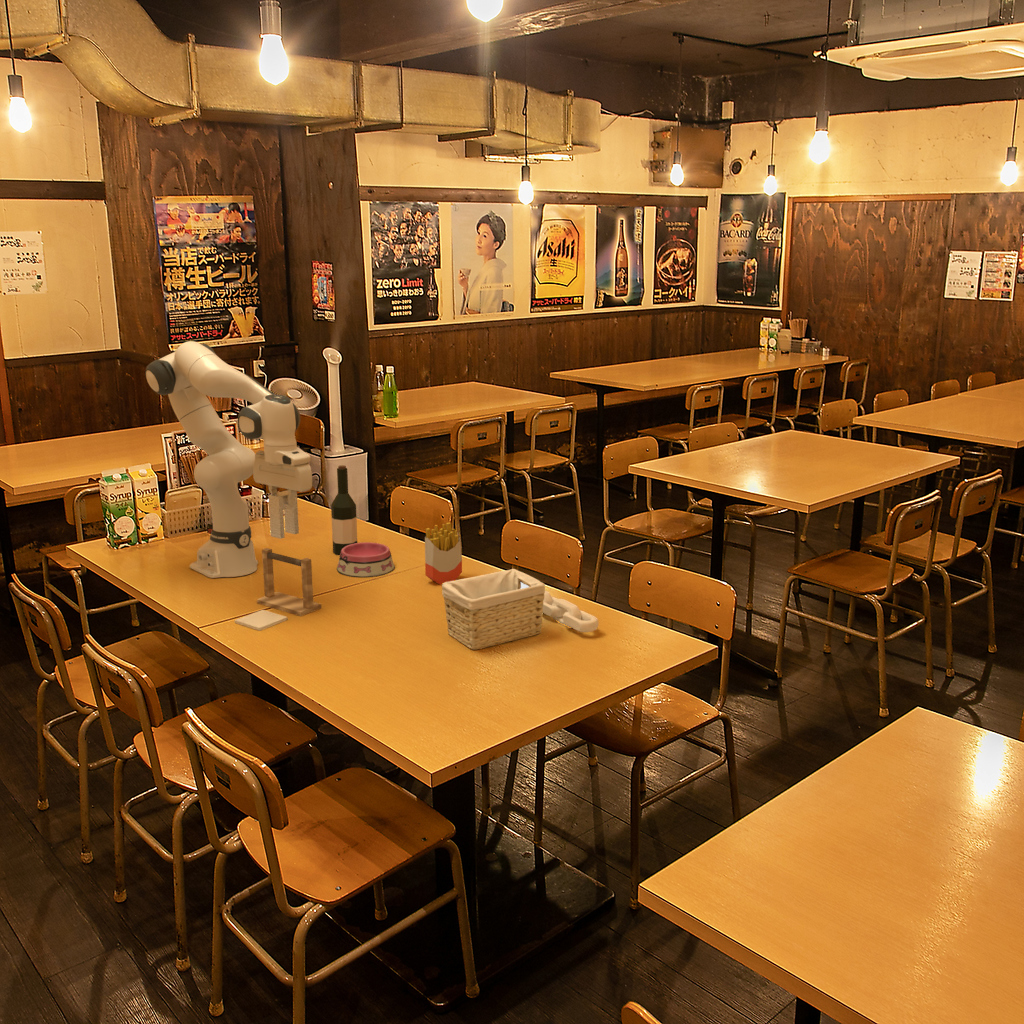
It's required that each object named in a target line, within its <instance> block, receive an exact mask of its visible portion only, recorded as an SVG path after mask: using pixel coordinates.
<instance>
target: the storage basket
mask: <svg viewBox="0 0 1024 1024" xmlns="http://www.w3.org/2000/svg"><path fill="white" fill-rule="evenodd" d="M522 584H523V585H526V586H528V587H525V588H522ZM441 588H442V590H441V593H442V597H443V600H444V609H445V613H446V614H445V617H446V623H447V632H448V635H449V636H450V637H452V638H454V639H455V640H457V641H458V642H460V643H462V645H464V646H466V647H467V648H468V647H469V648H468V649H470V648H471V650H474V651H477V650H482V649H481V648H483V649H486V648H489V647H493V646H496V644H498V645H501V644H505V643H508V642H513V641H516V640H519V639H523V638H524V639H525V638H527V637H532V636H535V635H539V634H541V633H542V623H543V622H542V620H543V614H542V613H543V603H544V602H543V600H544V596H545V595H544V593H545V590H546V586H545V583H544V582H542V581H540V580H539V579H537V578H535V577H534V576H531V575H529V574H527V573H524V572H523V571H520V570H518V569H515V568H511V569H507V570H502V571H501V570H500V571H495V572H492V573H486V574H482V575H477V576H471V577H467V578H461V579H456V580H455V581H450V582H445V583H443V584H441ZM512 640H513V641H512ZM500 643H501V644H500Z"/></svg>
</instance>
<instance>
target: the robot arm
mask: <svg viewBox="0 0 1024 1024" xmlns="http://www.w3.org/2000/svg"><path fill="white" fill-rule="evenodd" d="M144 373H145V378H146V381H147V383H148V385H149V387H150V388H151V390H152V391H153V392H154V393H156V394H158V395H159V396H166V395H167V396H168V399H169V403H170V406H171V407H172V410H173V412H174V415H175V416H176V418H177V420H178V422H179V423H180V425H181V427H182V428H183V430H184V432H185V434H186V435H187V437H188V440H189V441H190V443H191V444H193V445H194V446H195V447H198V448H200V449H202V450H203V451H204V452H205V453H206V454H207V456H205V457H203V458H202V459H201V460H200V461H199V462H197V464H195V466H194V468H193V478H194V481H195V483H196V484H197V485H198V487H200V488H201V489H202V490H204V492H205V494H206V496H207V498H208V501H209V504H210V505H209V506H210V510H211V519H212V528H209V529H208V532H207V534H210V536H209V539H208V540H207V541H206V542H205V543H204V544H203V545H201V546H200V547H199V548H198V549H197V553H196V561H194V562H191V563H190V564H189V569H192V570H193V571H195V572H197V573H200V574H201V575H204V576H205V577H208V578H209V579H214V578H233V577H241V576H246V575H249V574H253V573H254V572H256V571H257V570H258V564H259V561H258V559H256V553H255V548H254V541H253V540H252V539H251V538H252V527H251V526H250V522H249V521H250V518H249V505H248V502H247V501H246V499H244V498H242V496H241V493H240V491H239V488H238V487H239V486H238V485H239V483H240V482H244V481H246V480H247V479H249V478H250V477H251V476H252V475H253V481H254V482H255V484H260V485H261V484H262V485H266V486H267V487H268V491H269V492H270V494H274V493H278V492H279V491H278V488H279V489H281V488H282V489H285V490H288V493H289V495H288V498H286V504H289V505H291V504H294V497H295V495H296V493H297V494H298V492H299V493H303V492H304V493H305V492H308V491H310V490H312V488H313V473H312V472H313V471H312V467H311V465H310V464H309V463H310V462H311V461H312V460H311V458H312V457H311V455H310V454H308V453H307V452H305V451H304V450H303V449H301V448H300V447H299V446H298V445H297V444H298V443H297V440H296V439H297V438H296V435H295V433H296V431H297V430H298V428H299V426H300V424H301V413H300V410H299V409H298V407H297V405H296V404H294V403H293V400H292V399H291V398H290V397H288V396H286V395H283V394H276V393H274V392H272V391H271V390H270V389H269V388H267V387H266V386H265V385H263V384H262V383H260V382H259V381H257V380H256V379H254V378H253V377H251V376H250V375H248V374H247V373H244V372H242V371H239V370H238V369H236V368H235V367H232V366H231V365H230V364H228V363H227V362H225V361H224V360H222V359H221V358H220V357H219V356H218V355H217V354H216V352H215V350H214V349H213V348H212V347H211V346H210V345H208V344H207V343H199V342H197V341H193V340H192V341H190V340H189V341H185V342H183V343H181V344H180V345H179V346H178V347H177V349H176V350H175V351H173V352H172V353H170V354H167V355H165V356H163V357H161V358H159V359H154V360H153V361H152V362H150V363H149V364H147V365H146V368H145V372H144ZM208 397H210V398H211V397H212V398H226V399H227V398H229V399H240V400H245V401H247V402H249V403H251V405H247V406H244V407H242V409H240V411H239V413H238V416H237V426H238V430H239V431H240V433H241V434H242V436H244V438H246V439H248V440H261V439H262V440H263V450H258V451H256V453H255V452H254V451H253V449H251V448H249V447H247V446H245V445H243V444H242V443H241V442H240V441H238V439H236V437H235V436H233V434H232V433H231V432H230V431H229V430H228V429H227V428H226V426H225V424H224V423H223V421H222V420H221V418H220V416H219V415H218V413H217V412H216V409H215V408H214V406H213V404H212V403H211V400H210V399H209V398H208Z"/></svg>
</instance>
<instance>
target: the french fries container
mask: <svg viewBox="0 0 1024 1024" xmlns="http://www.w3.org/2000/svg"><path fill="white" fill-rule="evenodd" d="M441 526H442V527H441V528H438V527H439V526H438V525H437V524H435V525H434V528H432V529H431V528H429V527H427V528H425V536H424V558H425V559H424V562H425V564H424V565H425V567H424V569H425V571H424V572H425V576H426V577H427V578H428V579H429V580H431V581H433V582H434V583H436V584H438V585H440V584H441V585H442V583H445V582H450V581H454V580H458V578H459V577H460V575H461V574H462V573H463V556H462V543H461V537H460V534H459V532H458V529H457V530H456V529H455V528H452V523H451V521H450V522H446V523H442V524H441Z"/></svg>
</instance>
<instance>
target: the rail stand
mask: <svg viewBox="0 0 1024 1024" xmlns="http://www.w3.org/2000/svg"><path fill="white" fill-rule="evenodd" d="M261 557H262V558H261V559H262V572H263V574H262V575H263V588H264V596H262V597H259V598H257V599H256V604H259V605H261V606H266V607H269V608H272V609H276V610H279V611H282V612H285V613H288V614H292V615H296V616H298V617H302V616H305V615H308V614H310V613H313V612H315V611H318V610H321V609H322V603H318V602H316V601H315V602H314V591H313V590H314V586H313V569H312V567H313V566H312V559H311V558H308V557H306V558H302V559H300V558H295V557H290V556H287V555H284V554H279V553H276V552H273V549H272V548H268V547H266V548H262V549H261ZM274 560H275V561H277V562H278V561H279V562H282V563H287V564H290V565H294V566H298V567H300V568H301V584H302V585H301V587H302V598H300V597H298V596H294V595H291V594H290V595H289V594H286V593H284V592H280V591H276V592H275V577H274V564H273V562H274Z"/></svg>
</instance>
